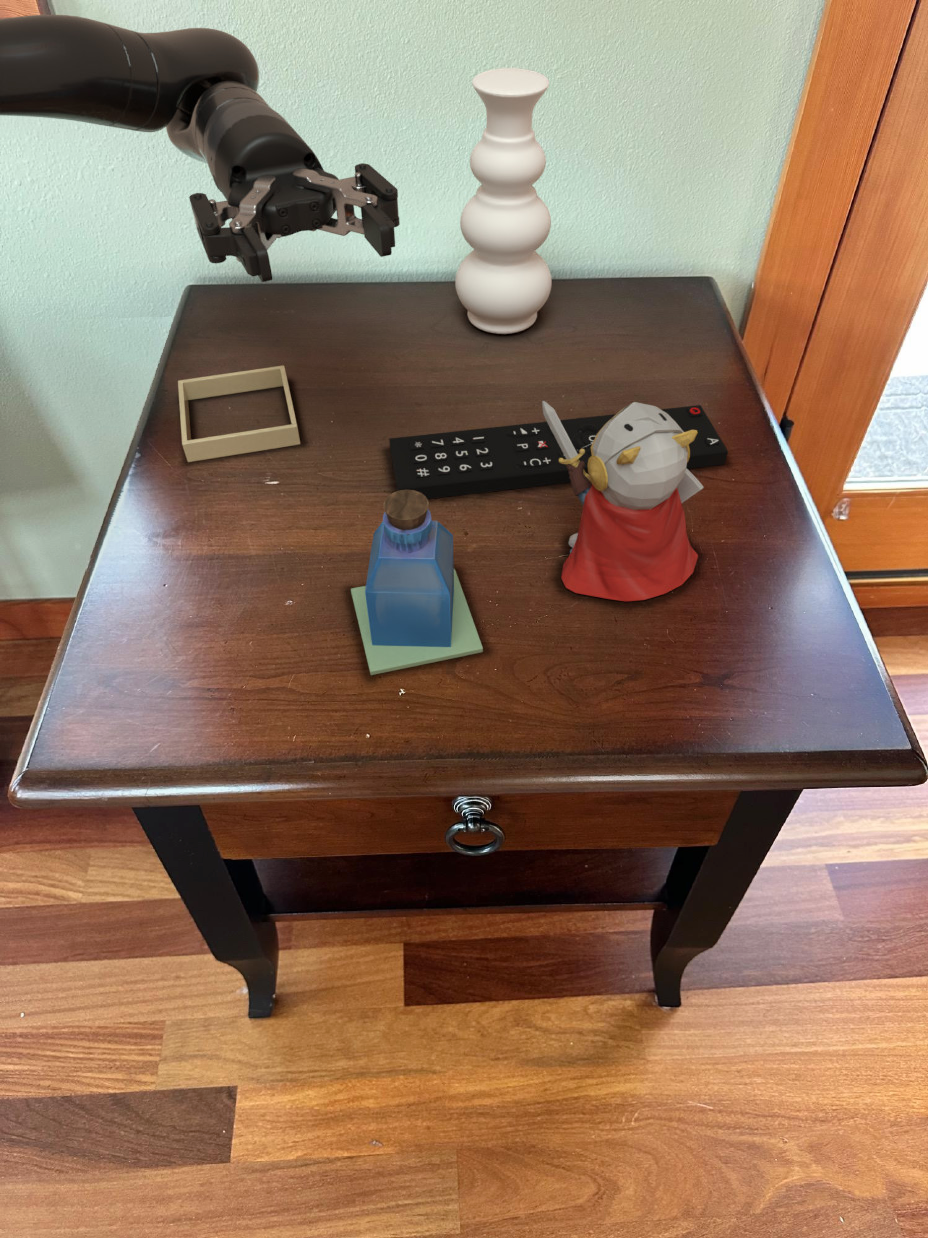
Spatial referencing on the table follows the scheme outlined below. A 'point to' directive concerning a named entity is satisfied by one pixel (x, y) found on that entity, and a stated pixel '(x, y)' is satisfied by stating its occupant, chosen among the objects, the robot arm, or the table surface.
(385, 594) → the perfume bottle
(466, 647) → the mat
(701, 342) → the table surface
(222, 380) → the holder
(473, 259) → the vase
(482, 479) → the remote control
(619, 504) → the figurine
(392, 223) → the robot arm
